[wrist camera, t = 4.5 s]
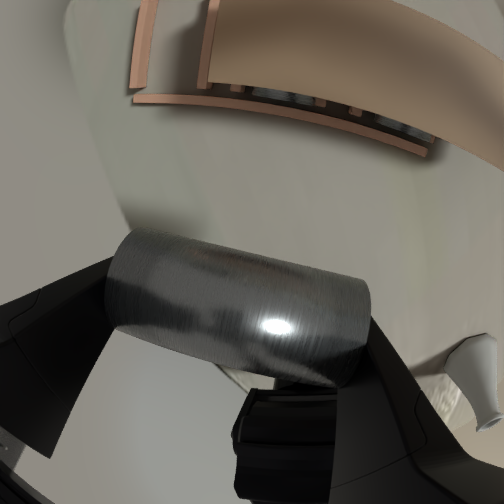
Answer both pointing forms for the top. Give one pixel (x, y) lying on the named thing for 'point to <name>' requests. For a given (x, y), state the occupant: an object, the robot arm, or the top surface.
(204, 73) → the roller track
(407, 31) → the walnut board
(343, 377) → the roller
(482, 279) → the top surface
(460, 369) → the flask
